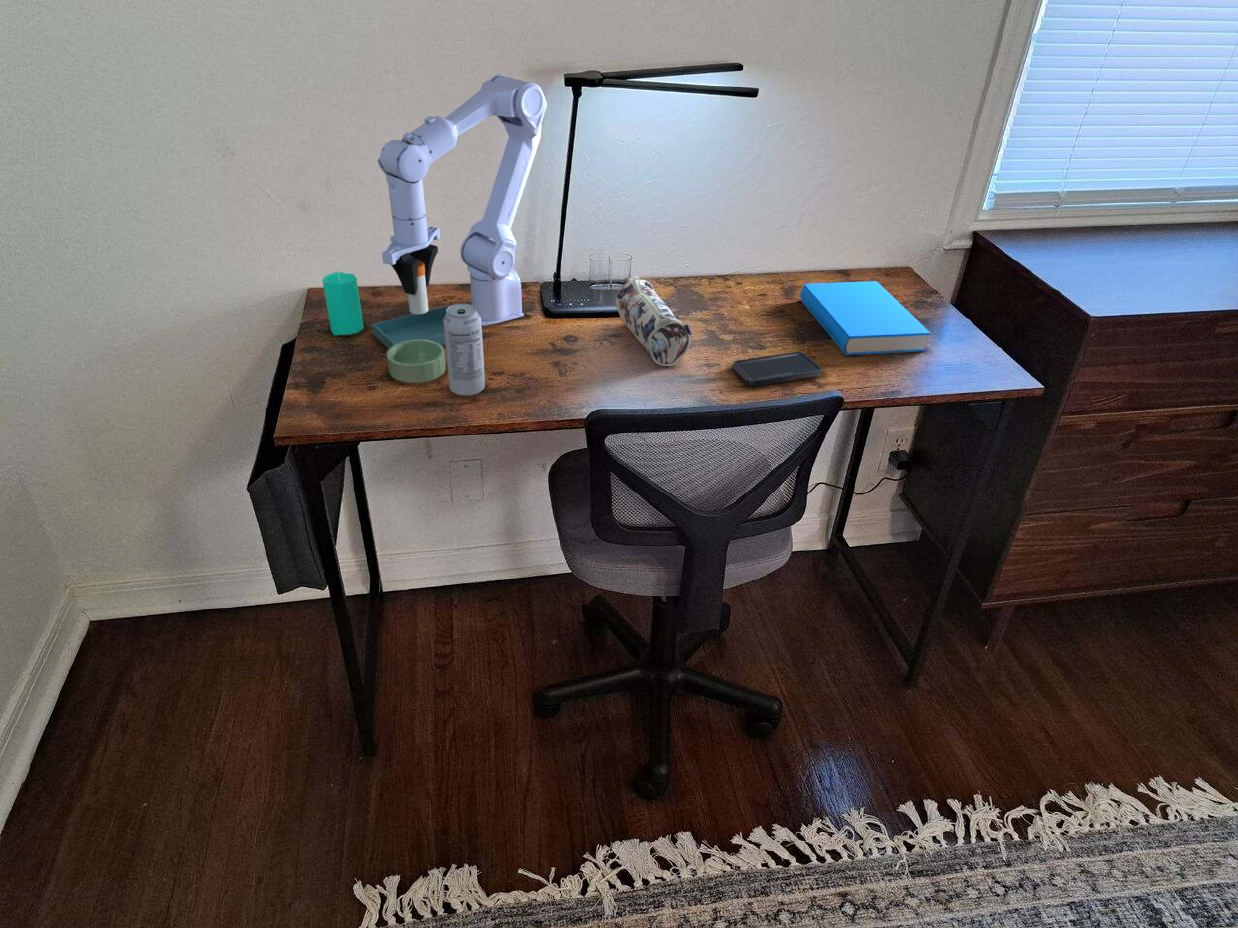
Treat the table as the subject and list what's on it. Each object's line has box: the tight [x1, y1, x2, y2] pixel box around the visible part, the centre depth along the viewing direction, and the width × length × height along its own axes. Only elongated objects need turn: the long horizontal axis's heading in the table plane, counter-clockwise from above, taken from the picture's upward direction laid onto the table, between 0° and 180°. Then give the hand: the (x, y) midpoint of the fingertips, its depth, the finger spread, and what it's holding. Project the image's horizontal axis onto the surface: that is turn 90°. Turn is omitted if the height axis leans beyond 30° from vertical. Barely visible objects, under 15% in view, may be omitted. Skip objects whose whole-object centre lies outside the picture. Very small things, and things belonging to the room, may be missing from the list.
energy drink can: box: [443, 303, 486, 397], centre depth 139 cm, size 6×6×15 cm
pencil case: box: [614, 275, 693, 367], centre depth 158 cm, size 22×8×10 cm, turn 18°
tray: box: [371, 304, 450, 349], centre depth 158 cm, size 16×11×2 cm
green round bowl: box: [386, 339, 447, 384], centre depth 147 cm, size 10×10×4 cm
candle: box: [322, 269, 365, 336], centre depth 157 cm, size 6×6×12 cm
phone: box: [731, 351, 823, 387], centre depth 152 cm, size 8×1×15 cm
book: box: [800, 280, 931, 356], centre depth 170 cm, size 17×4×25 cm
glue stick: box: [407, 261, 429, 314], centre depth 152 cm, size 4×4×9 cm
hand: (416, 289), depth 152 cm, fingers closed on glue stick, 3 cm apart
